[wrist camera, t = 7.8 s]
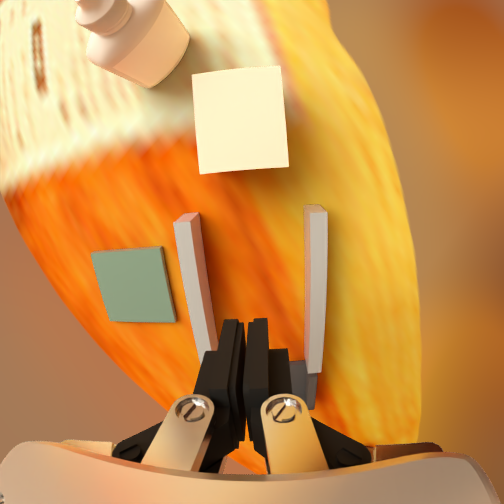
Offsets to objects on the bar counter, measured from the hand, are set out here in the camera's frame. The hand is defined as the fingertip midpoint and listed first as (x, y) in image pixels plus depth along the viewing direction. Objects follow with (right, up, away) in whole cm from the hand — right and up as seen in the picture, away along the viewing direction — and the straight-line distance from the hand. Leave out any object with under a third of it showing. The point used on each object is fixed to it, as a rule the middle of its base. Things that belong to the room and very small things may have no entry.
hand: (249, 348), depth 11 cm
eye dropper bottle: (-7, +19, +7) cm, 21 cm away
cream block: (0, +13, +8) cm, 16 cm away
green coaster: (-11, +1, +13) cm, 17 cm away
